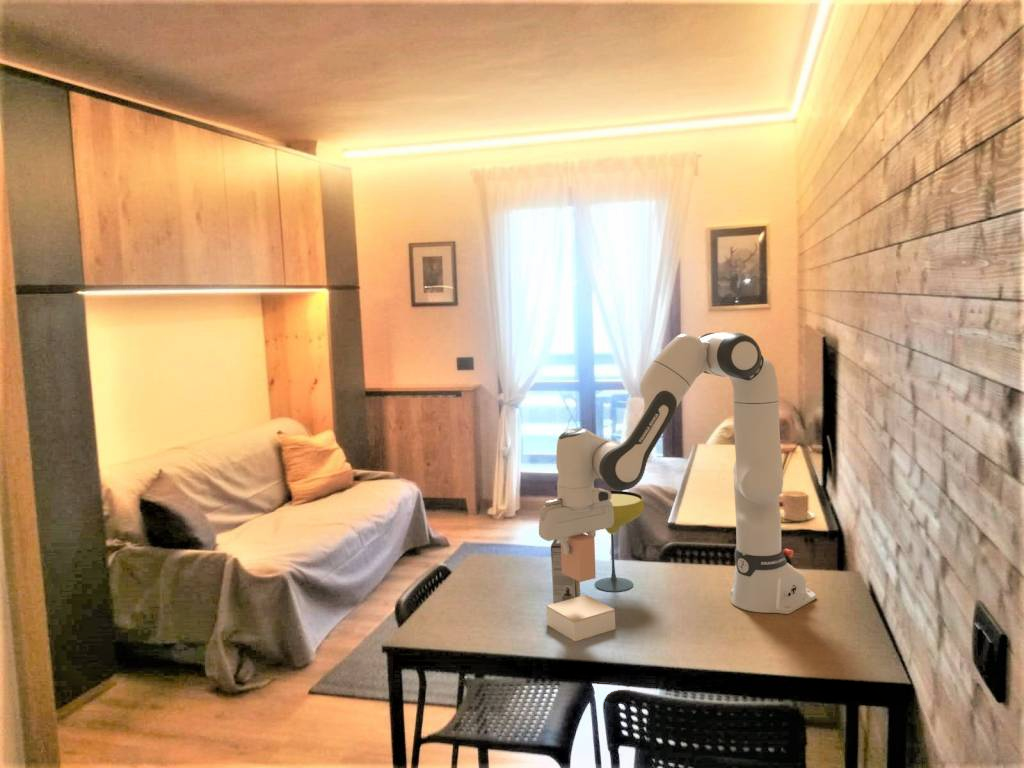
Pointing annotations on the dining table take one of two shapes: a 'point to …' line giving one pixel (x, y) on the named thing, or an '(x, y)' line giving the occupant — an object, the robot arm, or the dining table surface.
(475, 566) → the dining table surface
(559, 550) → the coffee box
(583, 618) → the podium
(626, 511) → the cocktail glass
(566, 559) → the carton
